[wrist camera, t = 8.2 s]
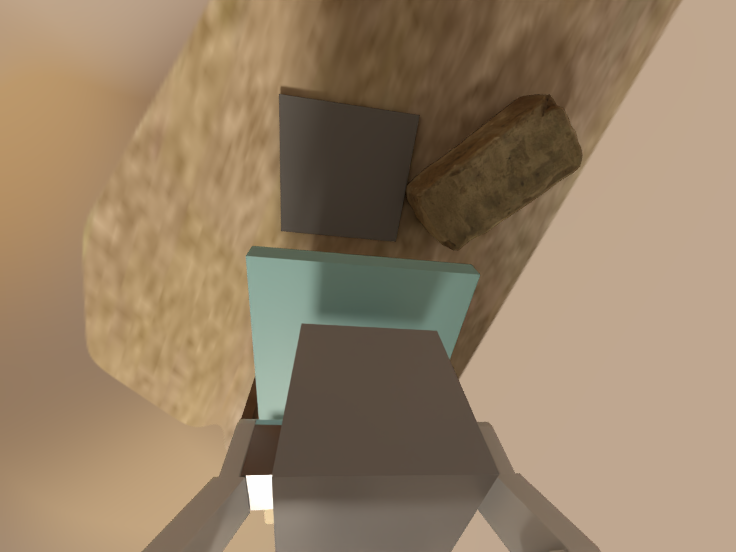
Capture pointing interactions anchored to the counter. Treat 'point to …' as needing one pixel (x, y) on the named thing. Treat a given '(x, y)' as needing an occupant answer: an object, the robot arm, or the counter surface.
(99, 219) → the counter surface
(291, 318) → the trapdoor
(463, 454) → the stone cube
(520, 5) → the counter surface
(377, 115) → the rubber mat
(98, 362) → the counter surface
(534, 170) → the stone block
